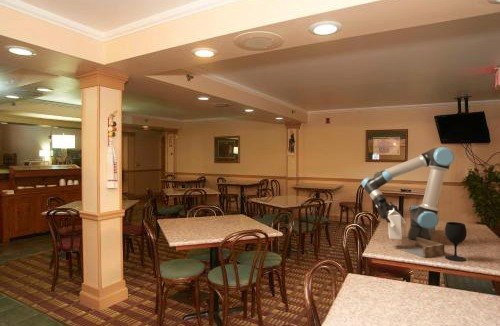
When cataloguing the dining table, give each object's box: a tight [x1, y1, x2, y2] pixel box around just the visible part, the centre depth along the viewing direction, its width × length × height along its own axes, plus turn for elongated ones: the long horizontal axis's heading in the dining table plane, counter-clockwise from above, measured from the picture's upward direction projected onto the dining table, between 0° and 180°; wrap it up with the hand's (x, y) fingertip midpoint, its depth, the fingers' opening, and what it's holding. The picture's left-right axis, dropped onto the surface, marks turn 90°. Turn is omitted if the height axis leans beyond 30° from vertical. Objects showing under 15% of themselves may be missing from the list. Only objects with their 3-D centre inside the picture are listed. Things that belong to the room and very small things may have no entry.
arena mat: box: [399, 246, 424, 258], centre depth 198 cm, size 15×16×1 cm
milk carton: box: [387, 208, 403, 240], centre depth 207 cm, size 7×7×19 cm
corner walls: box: [415, 237, 445, 259], centre depth 198 cm, size 16×19×6 cm
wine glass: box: [444, 221, 467, 263], centre depth 184 cm, size 10×10×20 cm
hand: (399, 225), depth 204 cm, fingers closed on milk carton, 10 cm apart
